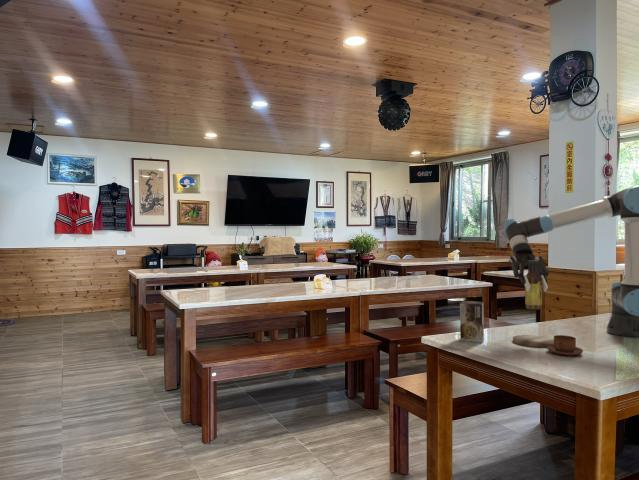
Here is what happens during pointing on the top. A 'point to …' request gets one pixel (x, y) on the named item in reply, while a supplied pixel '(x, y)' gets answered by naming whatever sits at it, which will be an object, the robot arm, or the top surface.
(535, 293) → the sauce bottle
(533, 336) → the coaster pad
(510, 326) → the top surface
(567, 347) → the cup and saucer
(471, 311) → the coffee box
